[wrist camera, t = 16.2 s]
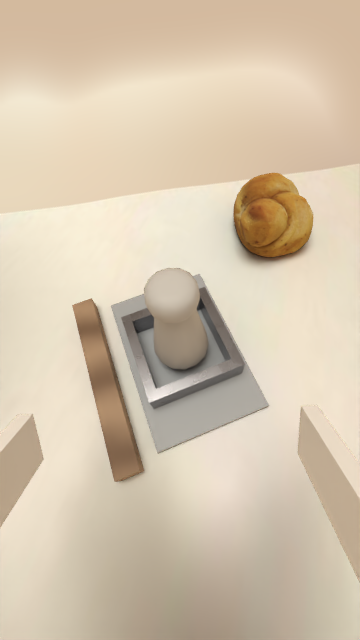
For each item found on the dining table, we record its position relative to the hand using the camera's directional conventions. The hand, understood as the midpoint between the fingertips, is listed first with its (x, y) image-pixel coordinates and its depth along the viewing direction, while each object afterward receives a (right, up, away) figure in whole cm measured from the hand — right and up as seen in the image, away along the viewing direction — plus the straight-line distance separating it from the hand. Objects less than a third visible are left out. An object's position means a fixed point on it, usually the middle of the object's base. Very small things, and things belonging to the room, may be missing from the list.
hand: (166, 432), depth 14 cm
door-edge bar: (-8, -1, +18) cm, 20 cm away
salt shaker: (+1, +2, +19) cm, 19 cm away
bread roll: (+13, +18, +27) cm, 35 cm away
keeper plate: (+1, +2, +19) cm, 19 cm away
